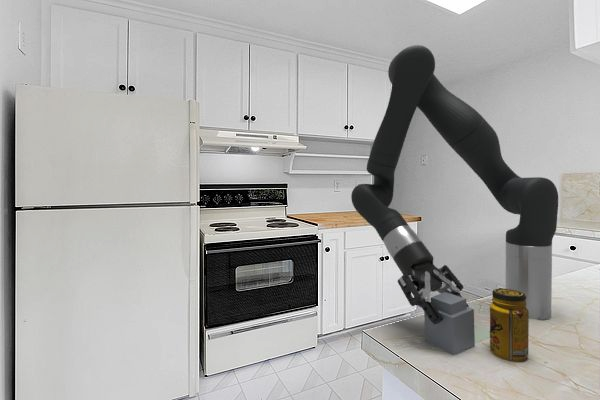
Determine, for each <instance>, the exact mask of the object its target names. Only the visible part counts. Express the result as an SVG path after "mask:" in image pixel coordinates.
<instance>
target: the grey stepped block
mask: <svg viewBox="0 0 600 400" xmlns="http://www.w3.org/2000/svg"><path fill="white" fill-rule="evenodd" d="M462 297H463V296H462ZM462 297H459V296H456V295H453V294H450V293H447V292H444V293H438V294H436V295H434V296H430V302H432V303H433V304H434V306H435V307H436V309H437V310H438V312H439V313H440V315H441V316H442V318H443V320H442V321H441V322H439V323H438V324H433V323H432V322H431V321H430V320H429V318H428V317H427V315H426V313H425V312H424V311H423V312H424V313H423V314H424V315H423V316H424V338H425V339H424V340H425V342H426V343H428V344H429V345H432V346H433V347H436V348H438V349H439V350H442V351H444V352H446V353H448V354H449V355H450V354H451V356H456V355H459V354H461V353H463V352H466V351H467V350H470V349H472V348H474V347H476V343H475V334H474V325H475V309H474V308H473V307H470V306H469V307H467V304H468V303H467V298H465V297H463V298H462Z"/></svg>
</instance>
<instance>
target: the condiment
mask: <svg viewBox="0 0 600 400" xmlns="http://www.w3.org/2000/svg"><path fill="white" fill-rule="evenodd" d="M491 301H492V302H491V303H490V305H489V331H490V338H489V348H490V353H492V355H494V356H495V357H497V358H498V359H501V360H505V361H506V362H513V363H524V362H527V360H529V328H530V327H529V320H530V318H529V312H528V309H527V308H526V296H525V294H524V293H522V292H520V291H517V290H513V289H506V287H504V288H503V287H502V288H494V289H493V290H492V298H491ZM544 363H545V364H546V363H547V364H548V362H546V361H544Z"/></svg>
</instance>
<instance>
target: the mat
mask: <svg viewBox="0 0 600 400" xmlns="http://www.w3.org/2000/svg"><path fill="white" fill-rule="evenodd" d="M474 334H475V344H478V343H479V342H482V341H485V340H488V339H490V330H488V329H484V327H483V328H482V327H481V326H477V325H475V324H474Z"/></svg>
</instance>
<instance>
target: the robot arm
mask: <svg viewBox="0 0 600 400" xmlns="http://www.w3.org/2000/svg"><path fill="white" fill-rule="evenodd" d="M388 66H389V67H388V71H387V74H388V78H389V82H390V84H391V90H390V95H389V100H388V103H387V108H386V110H385V113H384V115H383V117H382V118H383V119H382V120H381V123H380V125H379V128H378V130H377V132H376V135H375V138H374V140H373V143H372V147H371V150H370V151H369V152H370V153H369V156H368V160H367V164H366V171H367V173H368V174H370V175H372V176H373V177H374V179H373V183H361V184H357V185H356V186H355V187H354V188H353V190H351V191H352V192H351V203H352V206H353V207H354V210H355V211H356V212H357V213H358V214H359V216H361V218H363V220H364V221H366V222H367V223H368V224H369V225H370V226H372V227H373V228H374V229H375V231H376V233H377V235H378V236H379V237H380V239H381V241H382V242H383V244H384V246H385V248H386V249H387V252H388V253H389V255H390V257H391V259H392V260H393V261H394V263H395V264H396V266H397V267H398V269H399V271H400V272H401V274H402V275H401V276H400V277H399V278H398V279H397V283H398V286H399V287H400V289H401V291H402V292H403V294H404V296H405V298H406V299H407V302H408V303H409V305H410V306H411V307H415V306H418V307H419V308H421V309H422V311H423V312H425V313H426V315H427V317H428V318H429V320H430V321H431V322H432V323H433V324H438V323H439V322H441V321H442V320H443V318H442V316H441V315H440V313H439V312H438V310H437V309H436V307H435V306H434V304H433V303H432V302H431V296H430V294H431V292H433V293H434V292H438V294H441V293H444V292H447V293H450V294H453V295H456V296H459V297H462V298H464V297H463V295H462V294H461V291H462V290H463V289H465V288H464V285H463V284H462V282H461V281H460V279H458V277H456V275H455V274H454V273H453V271H452V270H451V269H450V268H449V266H447V265H446V264H444V265H443V266H441V267H440V268H438V267H437V266H436V265H435V264H434V256H433V255H432V253H431V252H430V250H429V249H428V248H427V246H426V245H425V243H423V240H422V239H420V237H419V235H417V233H416V232H415V231H414V229H412V228H411V226H410V225H409V224H408V222H406V220H405V218H404V217H403V215H402V214H401V212H399V211H398V210H397V209H394V208H391V207H390V205H391V204H392V202H393V199H394V191H395V189H394V188H395V172H396V169H397V167H398V166H397V165H398V163H399V159H400V157H401V153H402V150H403V147H404V143H405V141H406V137H407V134H408V132H409V129H410V124H411V122H412V119H413V118H414V115H415V112H416V110H417V109H419V110H420V112H422V113H423V114H424V116H425V117H426V118H427V119H428V121H429V122H430V124H431V125H432V127H433V128H434V129H435V130H436V132H437V133H438V134H439V135H440V136H441V137H442V138H443V139H444V142H446V143H447V144H448V146H449V147H450V148H451V149H452V150H453V151H454V152H455V153H456V154H457V155H458V156H459V157H460V158H461V159H462V160H463V161H464V162H465V163H466V165H468V166H469V168H470V169H471V170H472V172H474V173H475V174H476V175H477V177H478V178H479V179H480V180H481V181H482V182H483V183H484V185H485V186H486V188H487V189H488V190H489V192H490V193H491V194H492V196H493V197H494V199H495V200H496V202H497V203H498V204H499V205H500V206H501V208H503V209H504V210H505V211H506V212H507V213H510V214H513V215H518V216H519V220H518V221H519V222H518V224H517V226H515V227H514V228H511V229H508V230H507V231H506V233H505V288H506V289H513V290H517V291H520V292H522V293H524V294H525V296H526V308H527V309H528V312H529V320H530V319H532V320H538V321H539V320H549V319H551V318H552V297H553V296H552V295H553V294H552V291H553V289H552V286H553V282H552V280H553V274H552V273H553V271H552V270H553V264H552V263H553V238H554V236H555V234H556V232H557V226H558V213H559V191H558V189H557V186H556V184H555V183H554V182H553V181H552V180H551V179H549V178H546V177H542V176H541V177H539V176H537V177H536V176H535V177H532V176H531V177H521V176H519V175H518V174H516V173H515V171H513V170H512V168H511V167H509V165H508V164H507V163H506V162H505V160H504V158H503V156H502V151H501V144H500V140H499V139H500V138H499V137H498V134H497V132H496V130H494V128H493V127H492V126H491V124H489V122H488V121H487V120H486V119H485V118H484V117H483V116H482V114H480V112H478V111H477V109H475V108H474V107H472V106H471V105H470V104H468V103H467V102H465V101H464V100H462V99H461V98H459V97H457V96H456V95H455V94H453V93H452V92H451V91H449V90H448V89H447V88H446V87H445V86H444V85H443V84H442V83H441V82H440V79H438V78H437V76H436V75H435V74H434V73H435V68H436V59H435V57H434V53H432V51H431V50H430V49H429V48H428V47H426V46H424V45H420V44H415V45H414V44H413V45H410V46H408V47H406V48H404V49H402V50H401V51H400V52H398V53H397V55H395V56H394V57H393V58H392V60H391V61H390V64H389V65H388ZM452 282H453V283H452ZM454 284H455V285H454ZM467 307H469V308H470V306H469V304H468V303H467Z"/></svg>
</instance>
